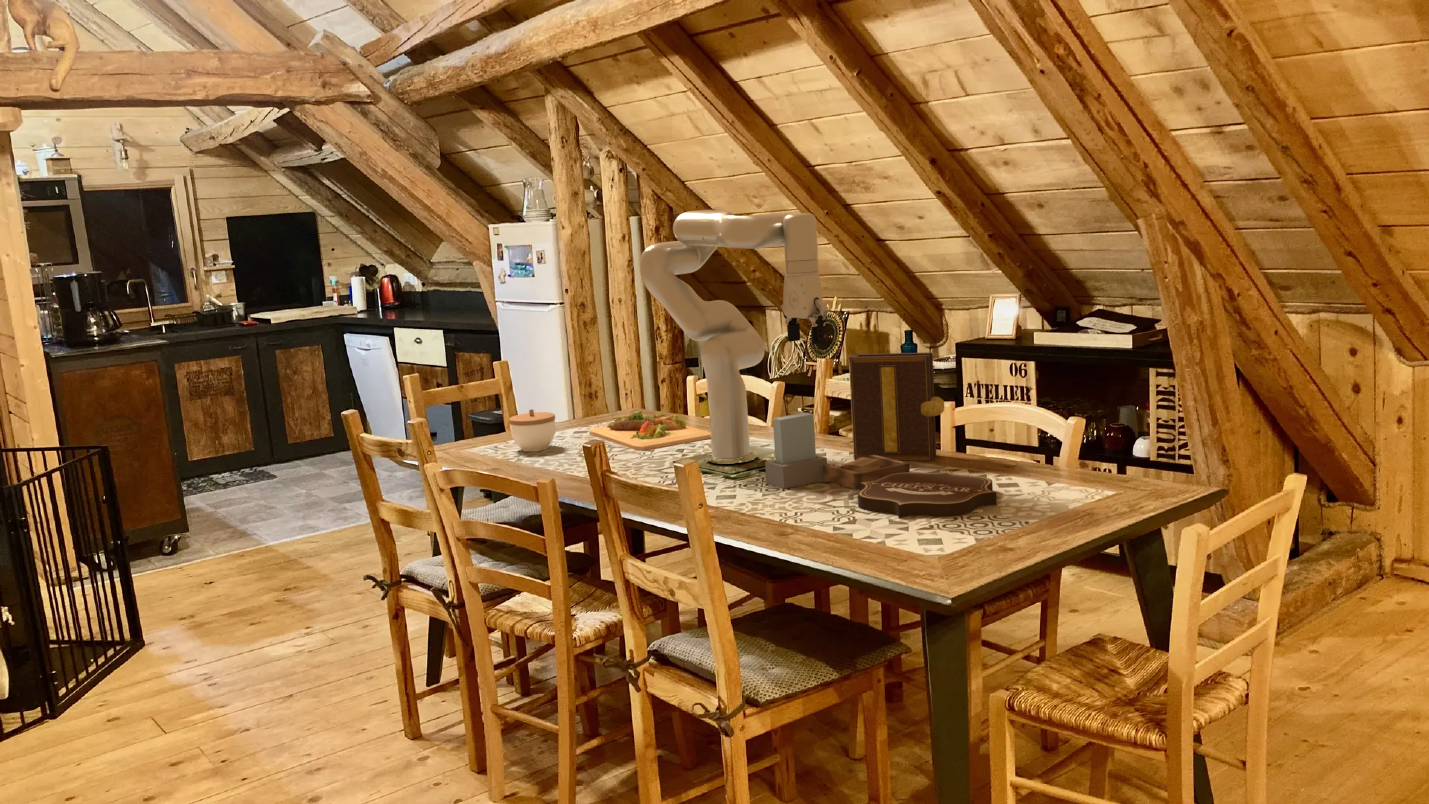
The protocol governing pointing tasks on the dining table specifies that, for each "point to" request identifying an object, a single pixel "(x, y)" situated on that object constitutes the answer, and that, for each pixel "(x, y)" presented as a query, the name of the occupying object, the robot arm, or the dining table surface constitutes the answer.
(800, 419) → the panel
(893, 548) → the dining table surface
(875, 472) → the square wooden tray
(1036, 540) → the dining table surface
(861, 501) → the decorative plaque
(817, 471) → the holder
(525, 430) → the lidded bowl
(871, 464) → the offcut top
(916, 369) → the book
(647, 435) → the cutting board
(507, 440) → the dining table surface
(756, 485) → the dining table surface
